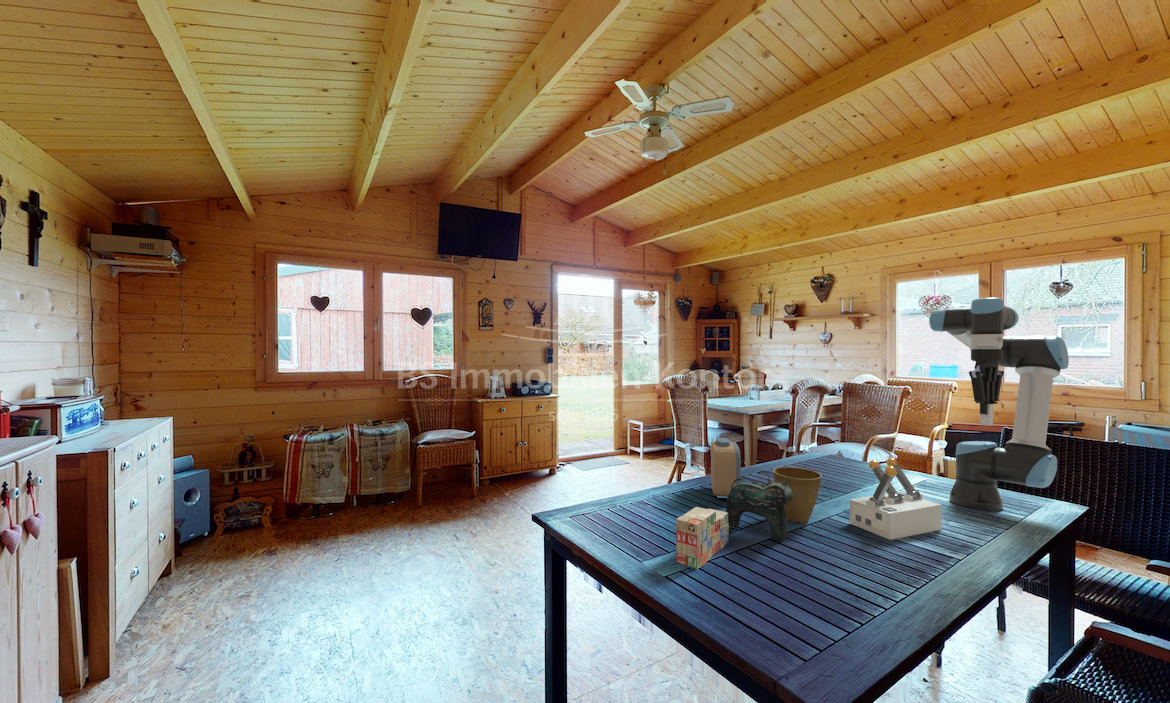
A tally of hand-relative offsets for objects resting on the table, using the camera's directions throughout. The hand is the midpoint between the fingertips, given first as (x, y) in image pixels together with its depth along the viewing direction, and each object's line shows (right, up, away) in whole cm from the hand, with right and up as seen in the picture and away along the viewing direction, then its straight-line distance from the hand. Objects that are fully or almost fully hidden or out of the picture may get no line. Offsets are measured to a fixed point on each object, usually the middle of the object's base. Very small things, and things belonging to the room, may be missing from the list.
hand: (986, 424), depth 144 cm
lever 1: (-31, -26, +5) cm, 41 cm away
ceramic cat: (-70, -35, +2) cm, 78 cm away
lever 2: (-15, -26, +10) cm, 31 cm away
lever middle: (-23, -26, +7) cm, 35 cm away
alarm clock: (-68, -34, +41) cm, 87 cm away
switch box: (-23, -34, +8) cm, 42 cm away
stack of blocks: (-90, -35, -11) cm, 97 cm away
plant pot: (-52, -35, +14) cm, 64 cm away
